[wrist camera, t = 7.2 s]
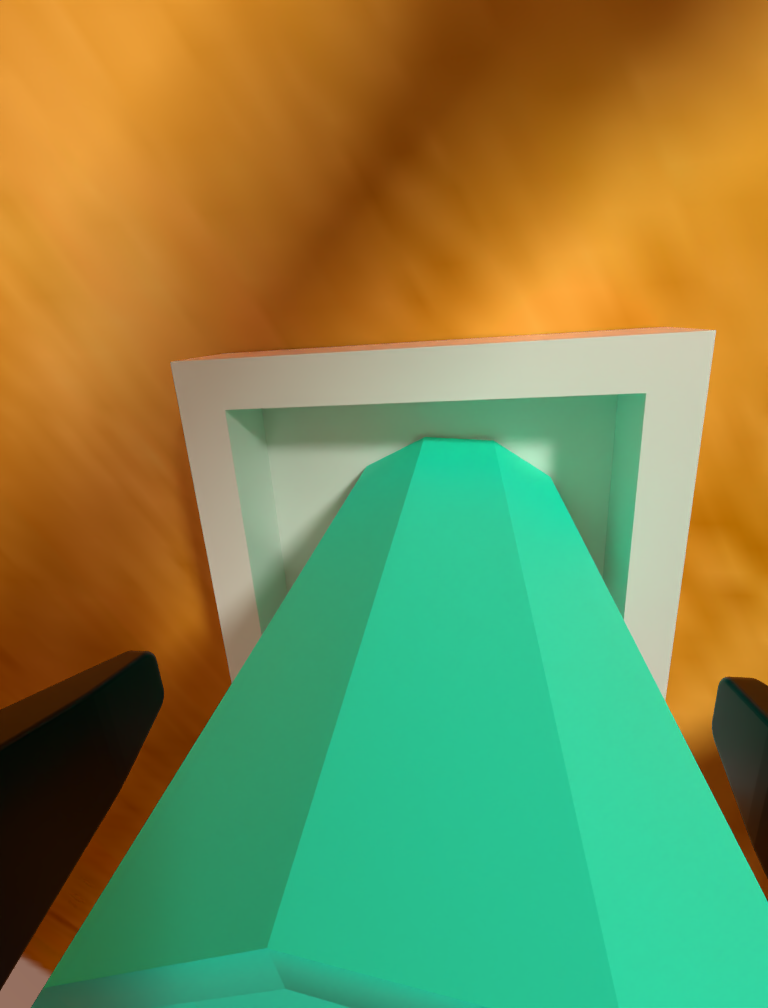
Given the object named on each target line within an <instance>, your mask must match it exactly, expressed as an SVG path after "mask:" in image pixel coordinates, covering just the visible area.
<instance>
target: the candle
mask: <svg viewBox="0 0 768 1008" xmlns="http://www.w3.org/2000/svg"><path fill="white" fill-rule="evenodd" d="M31 1008H768V901H767V899H766V897H765V895H764V893H763V891H762V889H761V888H760V886H759V884H758V882H757V880H756V878H755V876H754V874H753V872H752V870H751V868H750V866H749V864H748V862H747V860H746V858H745V856H744V854H743V852H742V850H741V848H740V846H739V845H738V843H737V841H736V839H735V837H734V835H733V833H732V831H731V829H730V827H729V825H728V823H727V821H726V819H725V817H724V815H723V813H722V811H721V809H720V807H719V805H718V803H717V801H716V800H715V798H714V796H713V794H712V792H711V790H710V788H709V786H708V784H707V782H706V780H705V778H704V776H703V774H702V772H701V770H700V768H699V766H698V764H697V762H696V760H695V758H694V757H693V755H692V753H691V751H690V749H689V747H688V745H687V743H686V741H685V739H684V737H683V735H682V733H681V731H680V729H679V727H678V725H677V723H676V721H675V719H674V717H673V715H672V713H671V712H670V710H669V708H668V706H667V704H666V702H665V700H664V698H663V696H662V694H661V692H660V690H659V688H658V686H657V684H656V682H655V680H654V678H653V676H652V674H651V672H650V670H649V669H648V667H647V665H646V663H645V661H644V659H643V657H642V655H641V653H640V651H639V649H638V647H637V645H636V643H635V641H634V639H633V637H632V635H631V633H630V631H629V629H628V627H627V625H626V624H625V622H624V620H623V618H622V616H621V614H620V612H619V610H618V608H617V606H616V604H615V602H614V600H613V598H612V596H611V594H610V592H609V590H608V588H607V586H606V584H605V582H604V581H603V579H602V577H601V575H600V573H599V571H598V569H597V567H596V565H595V563H594V561H593V559H592V557H591V555H590V553H589V551H588V549H587V547H586V545H585V543H584V541H583V539H582V537H581V536H580V534H579V532H578V530H577V528H576V526H575V524H574V522H573V520H572V518H571V516H570V514H569V512H568V510H567V508H566V506H565V504H564V502H563V500H562V498H561V496H560V494H559V493H558V491H557V489H556V487H555V485H554V483H553V481H552V479H551V477H550V476H548V475H547V474H545V473H544V472H542V471H541V470H539V469H537V468H536V467H534V466H533V465H531V464H530V463H528V462H527V461H525V460H523V459H522V458H520V457H519V456H517V455H516V454H514V453H512V452H511V451H509V450H508V449H506V448H505V447H503V446H502V445H500V444H498V443H497V442H495V441H494V440H476V439H456V438H436V437H423V438H422V439H420V440H418V441H416V442H414V443H412V444H410V445H408V446H406V447H404V448H402V449H400V450H398V451H396V452H394V453H392V454H390V455H388V456H386V457H384V458H382V459H380V460H378V461H376V462H374V463H372V464H370V465H368V466H366V468H365V470H364V471H363V473H362V474H361V476H360V478H359V479H358V481H357V482H356V484H355V486H354V487H353V489H352V490H351V492H350V494H349V495H348V497H347V499H346V500H345V502H344V503H343V505H342V507H341V508H340V510H339V511H338V513H337V515H336V516H335V518H334V520H333V521H332V523H331V524H330V526H329V528H328V529H327V531H326V532H325V534H324V536H323V537H322V539H321V540H320V542H319V544H318V545H317V547H316V549H315V550H314V552H313V553H312V555H311V557H310V558H309V560H308V561H307V563H306V565H305V566H304V568H303V570H302V571H301V573H300V574H299V576H298V578H297V579H296V581H295V582H294V584H293V586H292V587H291V589H290V590H289V592H288V594H287V595H286V597H285V599H284V600H283V602H282V603H281V605H280V607H279V608H278V610H277V611H276V613H275V615H274V616H273V618H272V620H271V621H270V623H269V624H268V626H267V628H266V629H265V631H264V632H263V634H262V636H261V637H260V639H259V641H258V642H257V644H256V645H255V647H254V649H253V650H252V652H251V653H250V655H249V657H248V658H247V660H246V661H245V663H244V665H243V666H242V668H241V670H240V671H239V673H238V674H237V676H236V678H235V679H234V681H233V682H232V684H231V686H230V687H229V689H228V691H227V692H226V694H225V695H224V697H223V699H222V700H221V702H220V703H219V705H218V707H217V708H216V710H215V711H214V713H213V715H212V716H211V718H210V720H209V721H208V723H207V724H206V726H205V728H204V729H203V731H202V732H201V734H200V736H199V737H198V739H197V741H196V742H195V744H194V745H193V747H192V749H191V750H190V752H189V753H188V755H187V757H186V758H185V760H184V762H183V763H182V765H181V766H180V768H179V770H178V771H177V773H176V774H175V776H174V778H173V779H172V781H171V782H170V784H169V786H168V787H167V789H166V791H165V792H164V794H163V795H162V797H161V799H160V800H159V802H158V803H157V805H156V807H155V808H154V810H153V812H152V813H151V815H150V816H149V818H148V820H147V821H146V823H145V824H144V826H143V828H142V829H141V831H140V832H139V834H138V836H137V837H136V839H135V841H134V842H133V844H132V845H131V847H130V849H129V850H128V852H127V853H126V855H125V857H124V858H123V860H122V862H121V863H120V865H119V866H118V868H117V870H116V871H115V873H114V874H113V876H112V878H111V879H110V881H109V883H108V884H107V886H106V887H105V889H104V891H103V892H102V894H101V895H100V897H99V899H98V900H97V902H96V903H95V905H94V907H93V908H92V910H91V912H90V913H89V915H88V916H87V918H86V920H85V921H84V923H83V924H82V926H81V928H80V929H79V931H78V933H77V934H76V936H75V937H74V939H73V941H72V942H71V944H70V945H69V947H68V949H67V950H66V952H65V953H64V955H63V957H62V958H61V960H60V962H59V963H58V965H57V966H56V968H55V970H54V971H53V973H52V974H51V976H50V978H49V979H48V981H47V983H46V984H45V986H44V987H43V989H42V991H41V992H40V994H39V995H38V997H37V999H36V1000H35V1002H34V1004H33V1005H32V1007H31Z"/></svg>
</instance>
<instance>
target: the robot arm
mask: <svg viewBox="0 0 768 1008" xmlns="http://www.w3.org/2000/svg"><path fill="white" fill-rule="evenodd" d="M163 698H164V689H163V685H162V681H161V676H160V672H159V668H158V664H157V660H156V657H155V656H154V654H153V653H151V652H149V651H127V652H125V653H122V654H120V655H118V656H116V657H114V658H112V659H109V660H107V661H105V662H103V663H101V664H99V665H96V666H94V667H92V668H90V669H88V670H86V671H83V672H81V673H79V674H77V675H75V676H73V677H70V678H68V679H66V680H64V681H62V682H60V683H58V684H55V685H53V686H51V687H49V688H47V689H45V690H42V691H40V692H38V693H36V694H34V695H32V696H29V697H27V698H25V699H23V700H21V701H19V702H16V703H14V704H12V705H10V706H8V707H6V708H3V709H1V710H0V990H1V989H2V987H3V985H4V984H5V982H6V980H7V979H8V977H9V975H10V974H11V972H12V970H13V969H14V967H15V965H16V964H17V962H18V960H19V959H20V957H21V955H22V954H23V952H24V950H25V949H26V947H27V945H28V944H29V942H30V940H31V939H32V937H33V935H34V934H35V932H36V930H37V929H38V927H39V925H40V924H41V922H42V920H43V919H44V917H45V915H46V914H47V912H48V910H49V909H50V907H51V905H52V904H53V902H54V900H55V899H56V897H57V895H58V894H59V892H60V890H61V889H62V887H63V885H64V884H65V882H66V880H67V879H68V877H69V875H70V874H71V872H72V870H73V869H74V867H75V865H76V864H77V862H78V860H79V859H80V857H81V855H82V854H83V852H84V850H85V849H86V847H87V845H88V844H89V842H90V840H91V839H92V837H93V835H94V834H95V832H96V830H97V829H98V827H99V825H100V824H101V822H102V820H103V819H104V817H105V815H106V814H107V812H108V810H109V809H110V807H111V805H112V804H113V802H114V800H115V798H116V797H117V795H118V793H119V791H120V790H121V788H122V786H123V784H124V782H125V780H126V778H127V776H128V774H129V772H130V770H131V768H132V766H133V764H134V762H135V760H136V758H137V756H138V754H139V751H140V749H141V747H142V745H143V743H144V741H145V739H146V737H147V735H148V733H149V731H150V729H151V727H152V725H153V722H154V720H155V718H156V716H157V714H158V712H159V710H160V708H161V706H162V703H163ZM712 732H713V737H714V741H715V744H716V747H717V749H718V752H719V755H720V758H721V760H722V763H723V766H724V769H725V772H726V774H727V777H728V780H729V783H730V785H731V788H732V791H733V794H734V797H735V799H736V802H737V805H738V808H739V810H740V813H741V816H742V819H743V822H744V824H745V827H746V830H747V832H748V835H749V838H750V840H751V843H752V845H753V848H754V850H755V852H756V855H757V857H758V859H759V861H760V863H761V866H762V868H763V870H764V872H765V874H766V876H767V878H768V686H767V685H766V684H764V683H762V682H760V681H759V680H757V679H754V678H742V677H725V678H723V679H722V680H721V681H720V683H719V686H718V691H717V697H716V702H715V708H714V714H713V720H712Z"/></svg>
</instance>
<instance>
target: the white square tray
mask: <svg viewBox="0 0 768 1008" xmlns="http://www.w3.org/2000/svg"><path fill="white" fill-rule="evenodd" d="M715 334H716V330H705V329H690V328H674V327H656V328H639V329H622V330H606V331H589V332H572V333H555V334H539V335H522V336H505V337H488V338H472V339H455V340H438V341H421V342H405V343H388V344H371V345H354V346H338V347H321V348H304V349H287V350H270V351H254V352H237V353H223V354H217V355H210V356H204V357H198V358H191V359H185V360H178V361H172V362H170V363H171V369H172V374H173V379H174V384H175V390H176V395H177V400H178V405H179V410H180V416H181V421H182V426H183V431H184V437H185V442H186V447H187V452H188V458H189V463H190V468H191V473H192V479H193V484H194V489H195V494H196V499H197V505H198V510H199V515H200V520H201V526H202V531H203V536H204V541H205V547H206V552H207V557H208V562H209V567H210V573H211V578H212V583H213V588H214V594H215V599H216V604H217V609H218V615H219V620H220V625H221V630H222V635H223V641H224V646H225V651H226V656H227V662H228V667H229V672H230V677H231V683H232V682H233V681H234V679H235V678H236V676H237V674H238V673H239V671H240V670H241V668H242V666H243V665H244V663H245V661H246V660H247V658H248V657H249V655H250V653H251V652H252V650H253V649H254V647H255V645H256V644H257V642H258V641H259V639H260V637H261V636H262V634H263V632H264V631H265V629H266V628H267V626H268V624H269V623H270V621H271V620H272V618H273V616H274V615H275V613H276V611H277V610H278V608H279V607H280V605H281V603H282V602H283V600H284V599H285V597H286V595H287V594H288V592H289V590H290V589H291V587H292V586H293V584H294V582H295V581H296V579H297V578H298V576H299V574H300V573H301V571H302V570H303V568H304V566H305V565H306V563H307V561H308V560H309V558H310V557H311V555H312V553H313V552H314V550H315V549H316V547H317V545H318V544H319V542H320V540H321V539H322V537H323V536H324V534H325V532H326V531H327V529H328V528H329V526H330V524H331V523H332V521H333V520H334V518H335V516H336V515H337V513H338V511H339V510H340V508H341V507H342V505H343V503H344V502H345V500H346V499H347V497H348V495H349V494H350V492H351V490H352V489H353V487H354V486H355V484H356V482H357V481H358V479H359V478H360V476H361V474H362V473H363V471H364V470H365V468H366V466H368V465H370V464H372V463H374V462H376V461H378V460H380V459H382V458H384V457H386V456H388V455H390V454H392V453H394V452H396V451H398V450H400V449H402V448H404V447H406V446H408V445H410V444H412V443H414V442H416V441H418V440H420V439H422V438H423V437H436V438H456V439H476V440H494V441H495V442H497V443H498V444H500V445H502V446H503V447H505V448H506V449H508V450H509V451H511V452H512V453H514V454H516V455H517V456H519V457H520V458H522V459H523V460H525V461H527V462H528V463H530V464H531V465H533V466H534V467H536V468H537V469H539V470H541V471H542V472H544V473H545V474H547V475H548V476H550V477H551V479H552V481H553V483H554V485H555V487H556V489H557V491H558V493H559V494H560V496H561V498H562V500H563V502H564V504H565V506H566V508H567V510H568V512H569V514H570V516H571V518H572V520H573V522H574V524H575V526H576V528H577V530H578V532H579V534H580V536H581V537H582V539H583V541H584V543H585V545H586V547H587V549H588V551H589V553H590V555H591V557H592V559H593V561H594V563H595V565H596V567H597V569H598V571H599V573H600V575H601V577H602V579H603V581H604V582H605V584H606V586H607V588H608V590H609V592H610V594H611V596H612V598H613V600H614V602H615V604H616V606H617V608H618V610H619V612H620V614H621V616H622V618H623V620H624V622H625V624H626V625H627V627H628V629H629V631H630V633H631V635H632V637H633V639H634V641H635V643H636V645H637V647H638V649H639V651H640V653H641V655H642V657H643V659H644V661H645V663H646V665H647V667H648V669H649V670H650V672H651V674H652V676H653V678H654V680H655V682H656V684H657V686H658V688H659V690H660V692H661V694H662V696H663V698H664V700H665V699H666V691H667V684H668V677H669V670H670V662H671V655H672V648H673V640H674V633H675V626H676V618H677V611H678V604H679V597H680V589H681V582H682V575H683V567H684V560H685V553H686V546H687V538H688V531H689V524H690V516H691V509H692V502H693V495H694V487H695V480H696V473H697V465H698V458H699V451H700V444H701V436H702V429H703V422H704V414H705V407H706V400H707V393H708V385H709V378H710V371H711V363H712V356H713V349H714V342H715Z"/></svg>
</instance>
